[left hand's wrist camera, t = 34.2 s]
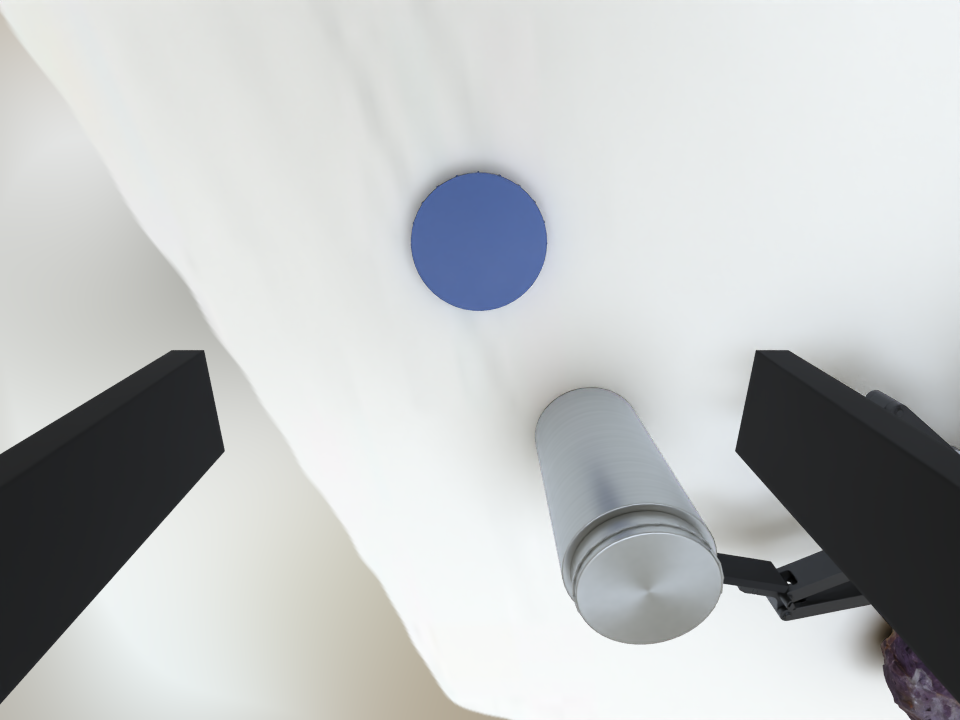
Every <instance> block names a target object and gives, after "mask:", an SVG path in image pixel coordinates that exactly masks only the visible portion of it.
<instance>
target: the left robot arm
mask: <svg viewBox="0 0 960 720" xmlns="http://www.w3.org/2000/svg"><path fill="white" fill-rule="evenodd" d="M224 451H225V450H224V445H223V440H222V435H221V431H220V425H219V421H218V416H217V411H216V406H215V401H214V396H213V391H212V387H211V382H210V377H209V372H208V367H207V362H206V358H205V353H204V350H171V351H170V352H168V353H167V354H165V355H163V356H162V357H160V358H158V359H157V360H155V361H153V362H152V363H150V364H148V365H147V366H145V367H144V368H142V369H140V370H138V371H137V372H135V373H134V374H132V375H130V376H129V377H127V378H125V379H124V380H122V381H120V382H119V383H117V384H115V385H114V386H112V387H111V388H109V389H107V390H105V391H104V392H102V393H101V394H99V395H97V396H96V397H94V398H92V399H91V400H89V401H87V402H86V403H84V404H82V405H81V406H79V407H77V408H76V409H74V410H73V411H71V412H69V413H68V414H66V415H64V416H63V417H61V418H59V419H58V420H56V421H54V422H53V423H51V424H49V425H48V426H46V427H44V428H43V429H41V430H40V431H38V432H36V433H35V434H33V435H31V436H30V437H28V438H26V439H25V440H23V441H21V442H20V443H18V444H16V445H15V446H13V447H11V448H10V449H8V450H6V451H5V452H3V453H2V454H0V704H1V703H2V702H3V700H4V699H5V698H6V697H7V696H8V695H9V694H10V692H11V691H12V690H13V689H14V688H15V687H16V686H17V685H18V684H19V682H20V681H21V680H22V679H23V678H24V677H25V676H26V675H27V673H28V672H29V671H30V670H31V669H32V668H33V667H34V666H35V664H36V663H37V662H38V661H39V660H40V659H41V658H42V657H43V655H44V654H45V653H46V652H47V651H48V650H49V649H50V648H51V646H52V645H53V644H54V643H55V642H56V641H57V640H58V638H59V637H60V636H61V635H62V634H63V633H64V632H65V631H66V629H67V628H68V627H69V626H70V625H71V624H72V623H73V622H74V620H75V619H76V618H77V617H78V616H79V615H80V614H81V612H82V611H83V610H84V609H85V608H86V607H87V606H88V605H89V604H90V602H91V601H92V600H93V599H94V598H95V597H96V596H97V595H98V593H99V592H100V591H101V590H102V589H103V588H104V587H105V585H106V584H107V583H108V582H109V581H110V580H111V579H112V578H113V576H114V575H115V574H116V573H117V572H118V571H119V570H120V569H121V567H122V566H123V565H124V564H125V563H126V562H127V561H128V560H129V558H130V557H131V556H132V555H133V554H134V553H135V552H136V551H137V549H138V548H139V547H140V546H141V545H142V544H143V543H144V542H145V540H146V539H147V538H148V537H149V536H150V535H151V534H152V533H153V531H154V530H155V529H156V528H157V527H158V526H159V525H160V523H161V522H162V521H163V520H164V519H165V518H166V517H167V516H168V515H169V513H170V512H171V511H172V510H173V509H174V508H175V507H176V506H177V504H178V503H179V502H180V501H181V500H182V499H183V498H184V497H185V495H186V494H187V493H188V492H189V491H190V490H191V489H192V487H193V486H194V485H195V484H196V483H197V482H198V481H199V480H200V478H201V477H202V476H203V475H204V474H205V473H206V472H207V471H208V469H209V468H210V467H211V466H212V465H213V464H214V463H215V462H216V460H217V459H218V458H219V457H220V456H221V455H222V454H223V453H224ZM735 451H736V453H737V454H738V455H739V456H740V457H741V458H742V459H743V460H744V462H745V463H746V464H747V465H748V466H749V467H750V468H751V469H752V471H753V472H754V473H755V474H756V475H757V476H758V477H759V478H760V480H761V481H762V482H763V483H764V484H765V485H766V486H767V487H768V489H769V490H770V491H771V492H772V493H773V494H774V495H775V497H776V498H777V499H778V500H779V501H780V502H781V503H782V504H783V506H784V507H785V508H786V509H787V510H788V511H789V512H790V513H791V515H792V516H793V517H794V518H795V519H796V520H797V521H798V522H799V524H800V525H801V526H802V527H803V528H804V529H805V530H806V531H807V533H808V534H809V535H810V536H811V537H812V538H813V539H814V540H815V542H816V543H817V544H818V545H819V546H820V547H821V548H822V549H823V551H824V552H825V553H826V554H827V555H828V556H829V557H830V558H831V560H832V561H833V562H834V563H835V564H836V565H837V566H838V568H839V569H840V570H841V571H842V572H843V573H844V574H845V575H846V577H847V578H848V579H849V580H850V581H851V582H852V583H853V584H854V586H855V587H856V588H857V589H858V590H859V591H860V592H861V593H862V595H863V596H864V597H865V598H866V599H867V600H868V601H869V602H870V604H871V605H872V606H873V607H874V608H875V609H876V610H877V611H878V613H879V614H880V615H881V616H882V617H883V618H884V619H885V620H886V622H887V623H888V624H889V625H890V626H891V627H892V628H893V629H894V631H895V632H896V633H897V634H898V635H899V636H900V637H901V638H902V640H903V641H904V642H905V643H906V644H907V645H908V646H909V648H910V649H911V650H912V651H913V652H914V653H915V654H916V655H917V657H918V658H919V659H920V660H921V661H922V662H923V663H924V664H925V666H926V667H927V668H928V669H929V670H930V671H931V672H932V673H933V675H934V676H935V677H936V678H937V679H938V680H939V681H940V682H941V684H942V685H943V686H944V687H945V688H946V689H947V690H948V691H949V693H950V694H951V695H952V696H953V697H954V698H955V699H956V700H957V702H958V703H959V704H960V454H958V453H957V452H955V451H954V450H952V449H950V448H949V447H947V446H945V445H944V444H942V443H940V442H939V441H937V440H935V439H934V438H932V437H930V436H929V435H927V434H925V433H924V432H922V431H921V430H919V429H917V428H916V427H914V426H912V425H911V424H909V423H907V422H906V421H904V420H902V419H901V418H899V417H897V416H896V415H894V414H892V413H891V412H889V411H888V410H886V409H884V408H883V407H881V406H879V405H878V404H876V403H874V402H873V401H871V400H869V399H868V398H866V397H864V396H863V395H861V394H859V393H858V392H856V391H855V390H853V389H851V388H850V387H848V386H846V385H845V384H843V383H841V382H840V381H838V380H836V379H835V378H833V377H831V376H830V375H828V374H826V373H825V372H823V371H822V370H820V369H818V368H817V367H815V366H813V365H812V364H810V363H808V362H807V361H805V360H803V359H802V358H800V357H798V356H797V355H795V354H793V353H792V352H790V351H789V350H756V353H755V357H754V362H753V367H752V372H751V377H750V382H749V387H748V391H747V396H746V401H745V406H744V411H743V416H742V421H741V425H740V430H739V435H738V440H737V445H736V450H735Z"/></svg>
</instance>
